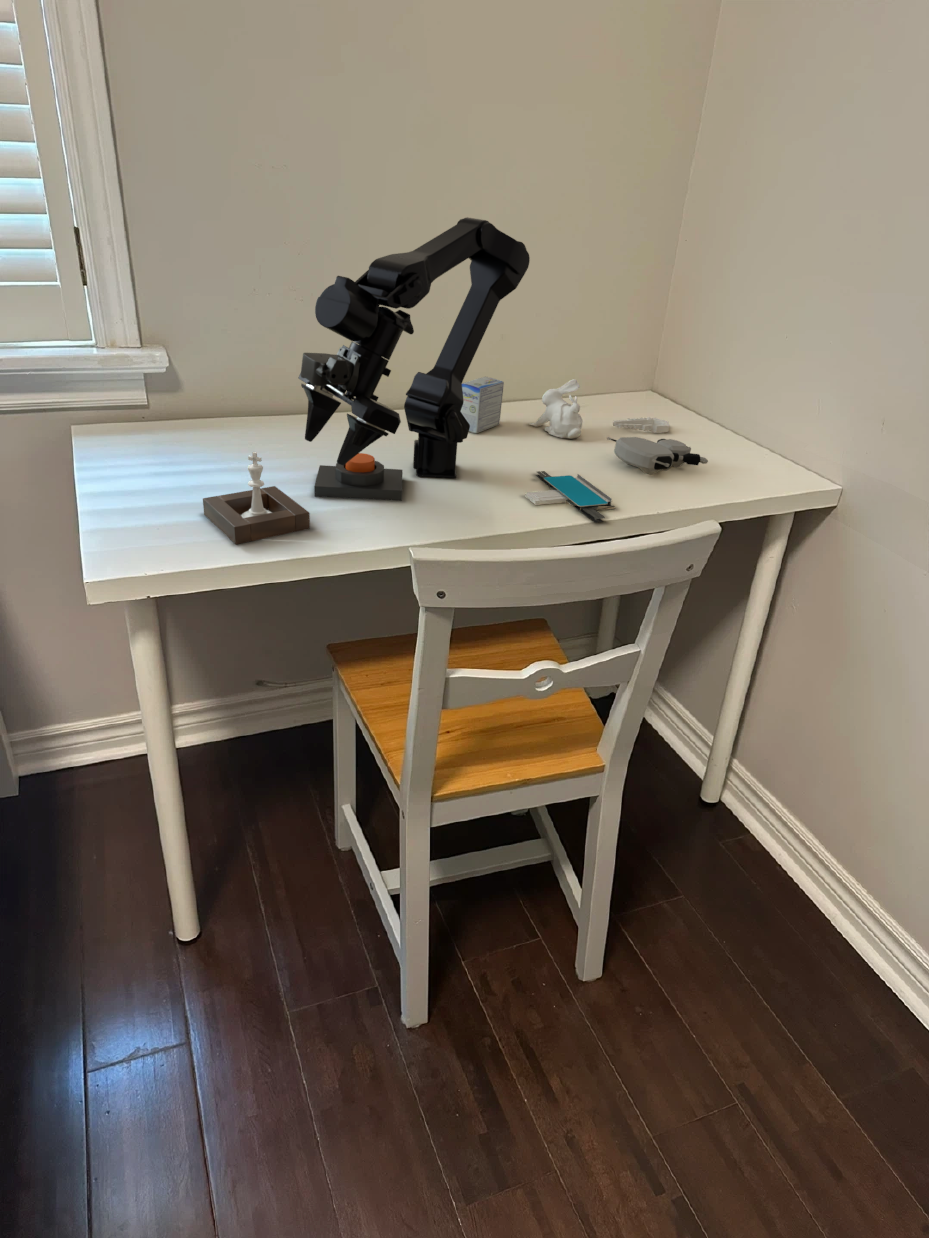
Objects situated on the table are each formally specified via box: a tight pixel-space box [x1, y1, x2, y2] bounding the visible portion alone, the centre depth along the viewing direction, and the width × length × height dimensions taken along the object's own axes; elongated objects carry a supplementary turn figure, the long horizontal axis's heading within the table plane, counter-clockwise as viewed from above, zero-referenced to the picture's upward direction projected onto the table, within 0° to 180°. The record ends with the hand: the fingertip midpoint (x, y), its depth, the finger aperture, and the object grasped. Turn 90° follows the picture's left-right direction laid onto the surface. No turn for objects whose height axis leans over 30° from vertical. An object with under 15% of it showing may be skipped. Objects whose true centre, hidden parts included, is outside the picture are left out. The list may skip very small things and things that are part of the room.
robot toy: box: [606, 436, 709, 475], centre depth 151 cm, size 12×4×15 cm
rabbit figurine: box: [529, 378, 584, 440], centre depth 163 cm, size 12×8×10 cm, turn 32°
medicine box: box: [461, 376, 505, 434], centre depth 162 cm, size 8×4×9 cm, turn 144°
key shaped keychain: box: [612, 416, 670, 434], centre depth 170 cm, size 13×5×2 cm, turn 114°
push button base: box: [313, 460, 403, 502], centre depth 132 cm, size 13×9×4 cm
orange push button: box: [346, 452, 376, 473], centre depth 131 cm, size 4×4×2 cm
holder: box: [202, 485, 311, 545], centre depth 118 cm, size 11×11×2 cm
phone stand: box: [524, 470, 616, 524], centre depth 135 cm, size 20×12×2 cm, turn 22°
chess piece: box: [240, 451, 272, 518], centre depth 117 cm, size 5×5×10 cm
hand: (323, 452), depth 123 cm, fingers open, 9 cm apart
